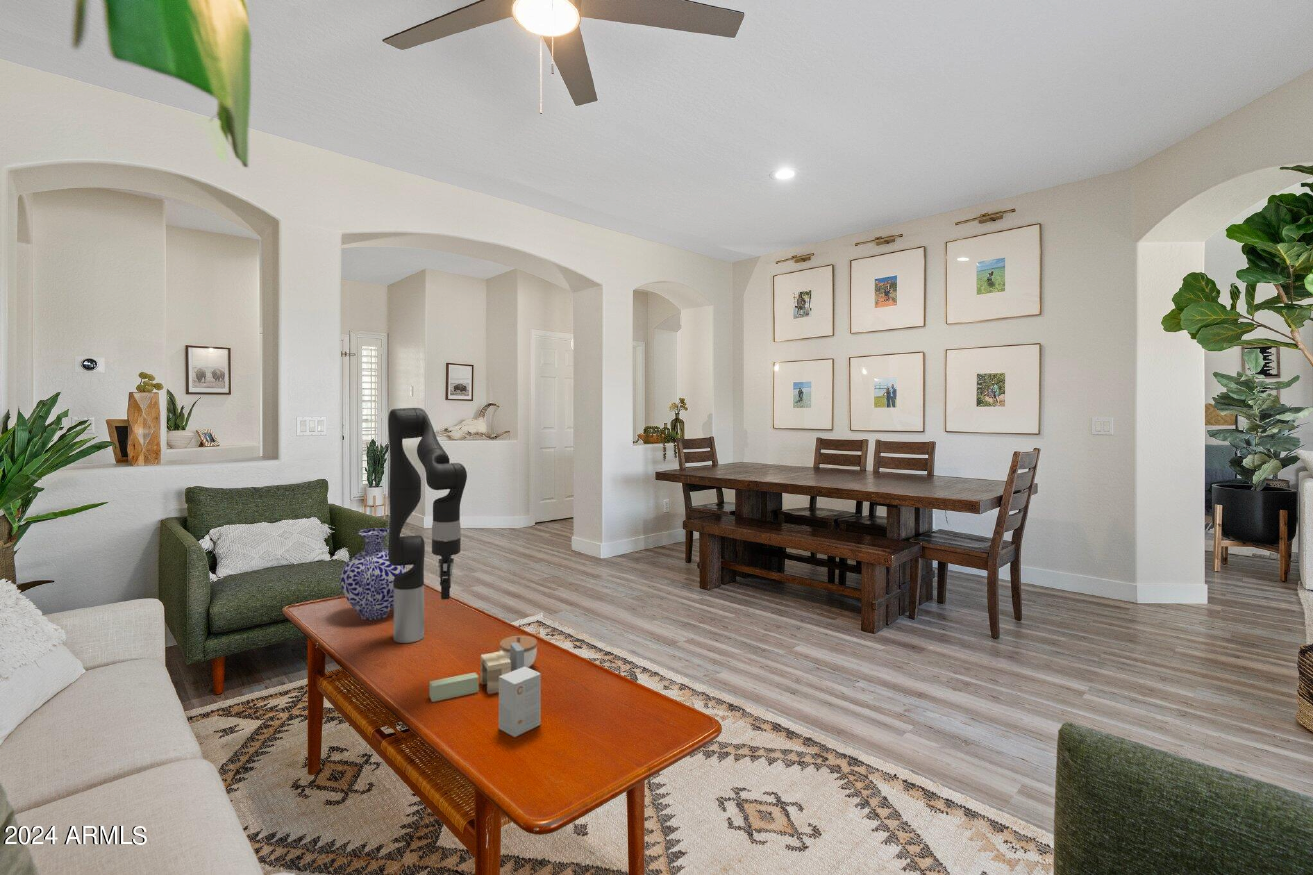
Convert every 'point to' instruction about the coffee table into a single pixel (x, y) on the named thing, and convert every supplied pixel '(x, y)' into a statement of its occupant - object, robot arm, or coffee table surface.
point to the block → (494, 669)
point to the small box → (519, 701)
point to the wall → (516, 656)
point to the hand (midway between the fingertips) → (446, 593)
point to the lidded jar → (526, 643)
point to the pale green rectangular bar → (454, 686)
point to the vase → (371, 577)
